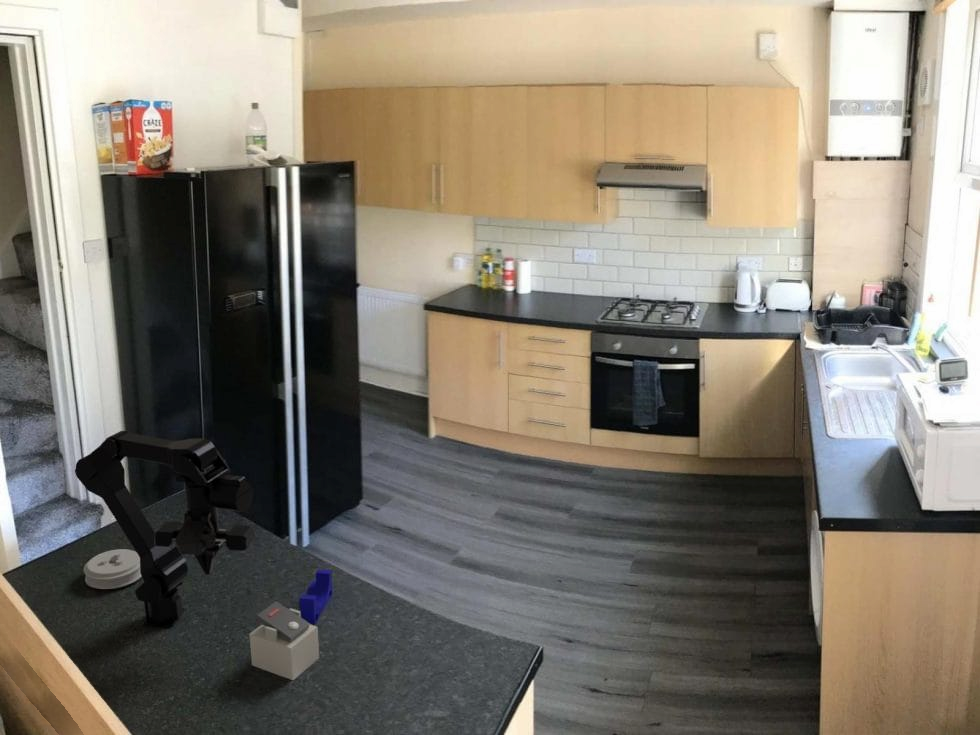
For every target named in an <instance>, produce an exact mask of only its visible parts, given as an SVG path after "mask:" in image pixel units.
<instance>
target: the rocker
mask: <svg viewBox="0 0 980 735" xmlns="http://www.w3.org/2000/svg"><path fill="white" fill-rule="evenodd" d="M289 609H290V608H287V607H286V606H284V605H283V604H282V603H280V602H278V601H275V602H273V603H272V604H270V605H269V606H268V607H266V608H265V609H264V610H262V611H261V612H259V613H258V614H257V615H256V618H255V620H256V621H257V622H258V623H259V624H261V625H262V624H263V625H264V626H268V627H271V628H274V629H277V635H279V636H280V637H282V638H283V639H285V640H286V641H288V642H289V643H291V642H292V641H293V640H295V639H296V638H297V637H298V636H300V635H301V634H302V633H303V632H305V631H306V630H307V629H308V628H309V625H311V624H310V623H308V622H307V621H305V620H304V619H302V618H301V617H299V616H298V615H296V614H295V613H293V612H292V611H290V610H289Z"/></svg>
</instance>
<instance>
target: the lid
mask: <svg viewBox="0 0 980 735" xmlns="http://www.w3.org/2000/svg"><path fill="white" fill-rule="evenodd" d="M83 567H84V568H83V573H84V575H85V576H84V577H85V578H84V581H85V583H86V585H88V586H89V587H91V588H94V589H99V590H109V589H110V590H112V589H117V588H122V587H126V586H128V585H130V584H133V583H135V582H137V581H138V580H140V579H141V578H142V576H141V573H140V557H139V555H138V554H137V552H136V551H135V550H132V549H126V548H125V549H123V548H119V549H112V550H111V549H110V550H107V551H104V552H101V553H99V554H97V555H95V556H93V557H92V558H91V559H90V560H89V561H88V562H86V563H85V565H84V566H83Z"/></svg>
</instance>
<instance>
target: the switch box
mask: <svg viewBox="0 0 980 735" xmlns="http://www.w3.org/2000/svg"><path fill="white" fill-rule="evenodd" d="M288 609H289V610H290V611H292V612H293V613H295V614H296V615H298V616H299V617H301V611H300V610H297V609H294V608H288ZM318 630H319V629H318V626H316V625H314V624H310V625H309V628H308V629H307V630H306V631H305V632H303V633H302V634H301V635H300V636H298V637H297V638H296V639H295V640H293V641H292V642H291V643H289V642H288V641H286V640H285V639H283V638H282V637H280V636H279V635H277V629H274V628H271V627H268V626H264V625H263V624H261V625H259V626H258V627H257V628H255V629H254V630H252V631H251V632H250V633H249V634H248V635H249V645H250V656H251V657H250V658H251V666H253V667H255V668H258V669H260V670H263V671H266V672H269V673H272V674H273V675H278V676H280V677H283V678H286V679H288V680H291V681H294V680H295V679H297V678H298V677H299V676H301V675H302V673H303V672H305V671H306V670H307V669H308V668H310V667H311V666H312V665H313V664H314V663H315V662H317V661H318V660H319V659H320V652H319V651H320V648H319V647H320V646H319V632H318Z"/></svg>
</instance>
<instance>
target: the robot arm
mask: <svg viewBox="0 0 980 735" xmlns="http://www.w3.org/2000/svg"><path fill="white" fill-rule="evenodd" d="M124 458H132V459H136V460H141V461H146V462H153V463H156V464H157V463H158V464H163V465H166V466H168V467H170V469H171V470H172V471H173V472H176V473H177V474H178V475H176V476H175V477H174V479H173V481H174V482H176V483H182V484H183V488H184V493H185V506H186V511H185V512H184V515H183V519H184V520H183V521H181V522H180V521H168V520H166V521H165V522H163V523H162V524H161V526H160V527H159V528H158V529H157V530H156V531H155V530H154V528H153V527H152V525H151V524H150V523H149V521H148V519H147V517H146V516H145V514H144V513H143V511H142V509H141V508H140V506H139V505H138V504H137V501H136V500H135V498H134V497H133V495H132V494H131V492H130V490H129V488H127V486H126V478H125V474H126V472H125V467H124V466H123V463H122V461H123V459H124ZM212 466H213V467H214V468H213V469H210V470H209V471H208V472H204V471H206V470H207V469H209V468H211V467H212ZM229 472H231V468H230V467H229V465H228V463H227V461H226V460H225V459H224V457H223V456H222V455H221V454H220V452H219V451H218V449H217V448H216V446H215V445H214V444H213V442H212V440H210V439H208V438H187V439H182V440H171V439H166V438H161V437H153V436H150V435H149V436H148V435H145V434H144V435H143V434H137V433H132V432H130V431H129V430H120V431H118V432H115V433H114V434H112V435H110V436H108V437H106V439H105V440H104V441H103V442H102V443H101V444H100V445H99V446H98V447H96V449H94V450H93V451H91V453H89V454H88V455H86V456H83V457H81V458H79V459H78V460H77V462H76V464H75V469H74V473H75V476H76V478H77V479H78V481H79V482H80V483H81V484H82V485H83V486H84V488H85V489H86V490H87V491H88V492H90V493H92V494H94V495H96V496H98V497H99V498H102V500H103V501H104V503H105V505H106V507H108V510H109V511H110V513H111V514H112V516H113V517H114V519H115V520H116V522H117V524H118V525H119V527H120V528H121V530H122V531H123V533H124V535H125V536H126V538H127V539H128V541H129V542H130V544H131V546H132V548H133V549H134V551H135V552H137V554H138V555H139V557H140V573H141V576H142V577H141V578H142V580H143V582H142V584H141V585H140V586H138V588H136V589H135V591H134V593H135V596H136V598H137V600H138V601H141V602H143V604H144V605H143V606H144V614H145V619H144V620H143V621H142V626H148V627H160V628H161V627H162V628H163V627H164V628H172V627H174V625H175V624H176V623H177V622H178V620H179V619H180V617H182V615H183V613H184V612H185V609H184V608H183V602H182V600H183V599H182V596H181V595H180V594H179V589H178V588H179V587H181V586H182V585H183V584H184V582H185V581H184V580H185V579H186V578H187V576H188V571H189V568H188V567H189V566H188V565H187V562H188V561H187V559H186V558H184V556H183V555H185V556H186V555H192V556H194V557H195V558H196V560H197V562H198V565H199V566H200V568H201V569H202V571H203V572H204V574H205V575H206V576H209V575H211V573H212V571H213V568H214V566H215V561H216V559H217V556H218V553H219V552H220V551H221V550H222V548H223V547H224V545H225V547H226V548H227V549H228V550H229V551H241V552H242V551H246V550H247V549H248V548H249V547H250V546H251V544H252V542H253V541H254V540H255V539H256V530H255V529H254V527H253V526H252V525H246V524H245V525H243V524H234V525H233V526H232V527H231V529H230V530H227V529H224V528H223V529H222V528H220V527H221V526H222V520H219V513H218V512H219V511H218V509H223V510H227V511H232V512H239V513H245V512H246V511H248V509H250V507H251V505H252V502H253V499H254V489H253V488H252V485H251V484H250V483H249V482H246V477H245V476H243V475H231V474H227V473H229ZM174 539H175V540H174ZM174 542H175V544H176V545H173V547H170V546H171V545H172V544H173V543H174Z"/></svg>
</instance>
